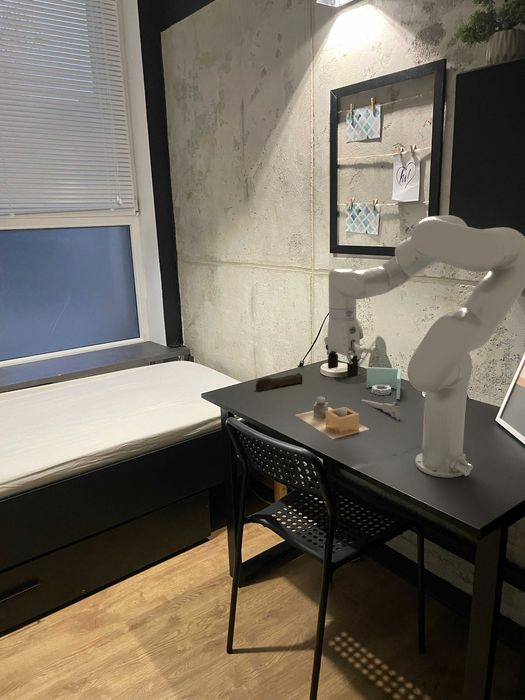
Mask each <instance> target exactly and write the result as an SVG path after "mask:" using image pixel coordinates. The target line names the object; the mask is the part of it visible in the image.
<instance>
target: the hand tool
mask: <svg viewBox="0 0 525 700" xmlns="http://www.w3.org/2000/svg"><path fill="white" fill-rule="evenodd" d="M296 384H301V385H302V384H303V375H302V374H301V373H299V372H298V373H295V374H290V375H285V376H281V377H274V378H272V377H269V376H268V377H263V378H258V380H257V381H256V383H255V391H258V392H261V391H270V390H272V389H273V388H279V387H283V386H290V385H296Z"/></svg>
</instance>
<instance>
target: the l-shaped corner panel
mask: <svg viewBox="0 0 525 700" xmlns="http://www.w3.org/2000/svg"><path fill="white" fill-rule="evenodd" d="M401 378H402V368H391V367H390V368H389V367H373V366H371V367H369V366H367V367H366V388H369V387H372V388H371V391H370V392H371V393H372V394H373V395H375V394H376V396H382V395H384V396H388V395H391V394H390V393H392V389H391V388H394V389H393V390H396V399H399V400H401V399H400V398H401V382H402V379H401Z"/></svg>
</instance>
